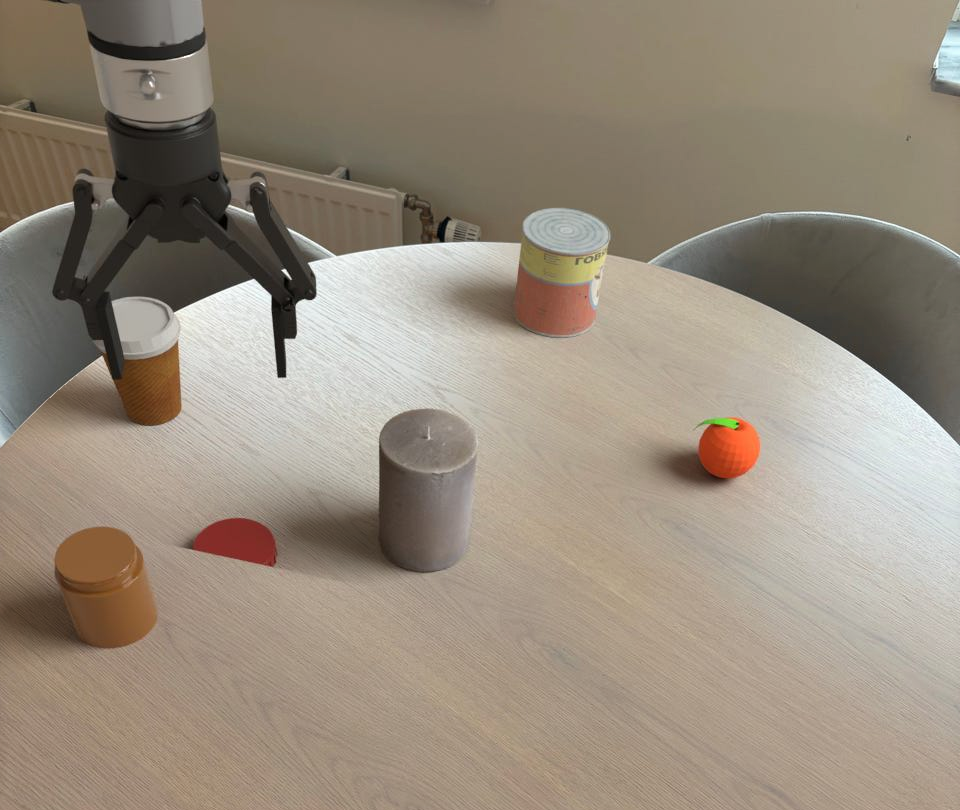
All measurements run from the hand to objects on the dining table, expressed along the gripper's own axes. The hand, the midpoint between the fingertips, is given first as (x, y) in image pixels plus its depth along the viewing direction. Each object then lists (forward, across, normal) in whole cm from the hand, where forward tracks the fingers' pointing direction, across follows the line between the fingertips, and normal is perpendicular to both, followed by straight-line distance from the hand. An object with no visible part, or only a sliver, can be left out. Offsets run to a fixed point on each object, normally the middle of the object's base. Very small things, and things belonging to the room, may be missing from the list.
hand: (201, 369), depth 84 cm
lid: (+21, 0, 0) cm, 21 cm away
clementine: (+22, +56, +10) cm, 61 cm away
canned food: (+21, +42, +43) cm, 64 cm away
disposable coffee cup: (+22, -10, +25) cm, 35 cm away
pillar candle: (+22, +20, +1) cm, 30 cm away
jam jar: (+23, -10, -9) cm, 27 cm away
